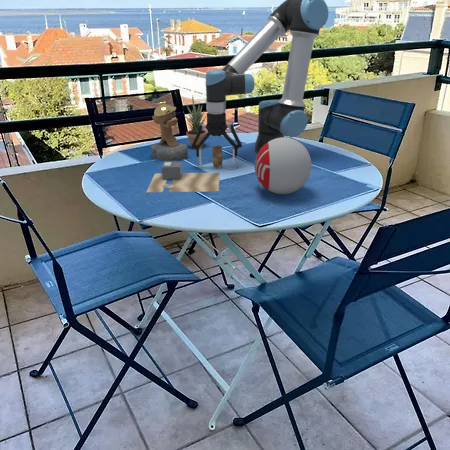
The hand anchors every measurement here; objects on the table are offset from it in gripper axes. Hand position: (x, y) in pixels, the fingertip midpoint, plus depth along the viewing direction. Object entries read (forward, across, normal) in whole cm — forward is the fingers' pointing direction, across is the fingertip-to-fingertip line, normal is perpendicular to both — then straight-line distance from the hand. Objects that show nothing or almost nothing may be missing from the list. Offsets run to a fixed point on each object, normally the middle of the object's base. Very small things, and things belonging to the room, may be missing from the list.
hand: (217, 164), depth 185 cm
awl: (+3, 0, 0) cm, 3 cm away
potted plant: (+3, +11, -35) cm, 37 cm away
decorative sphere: (+3, -24, +25) cm, 35 cm away
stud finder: (+1, +17, +11) cm, 21 cm away
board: (+3, +12, +17) cm, 21 cm away
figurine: (+3, +22, -19) cm, 29 cm away
